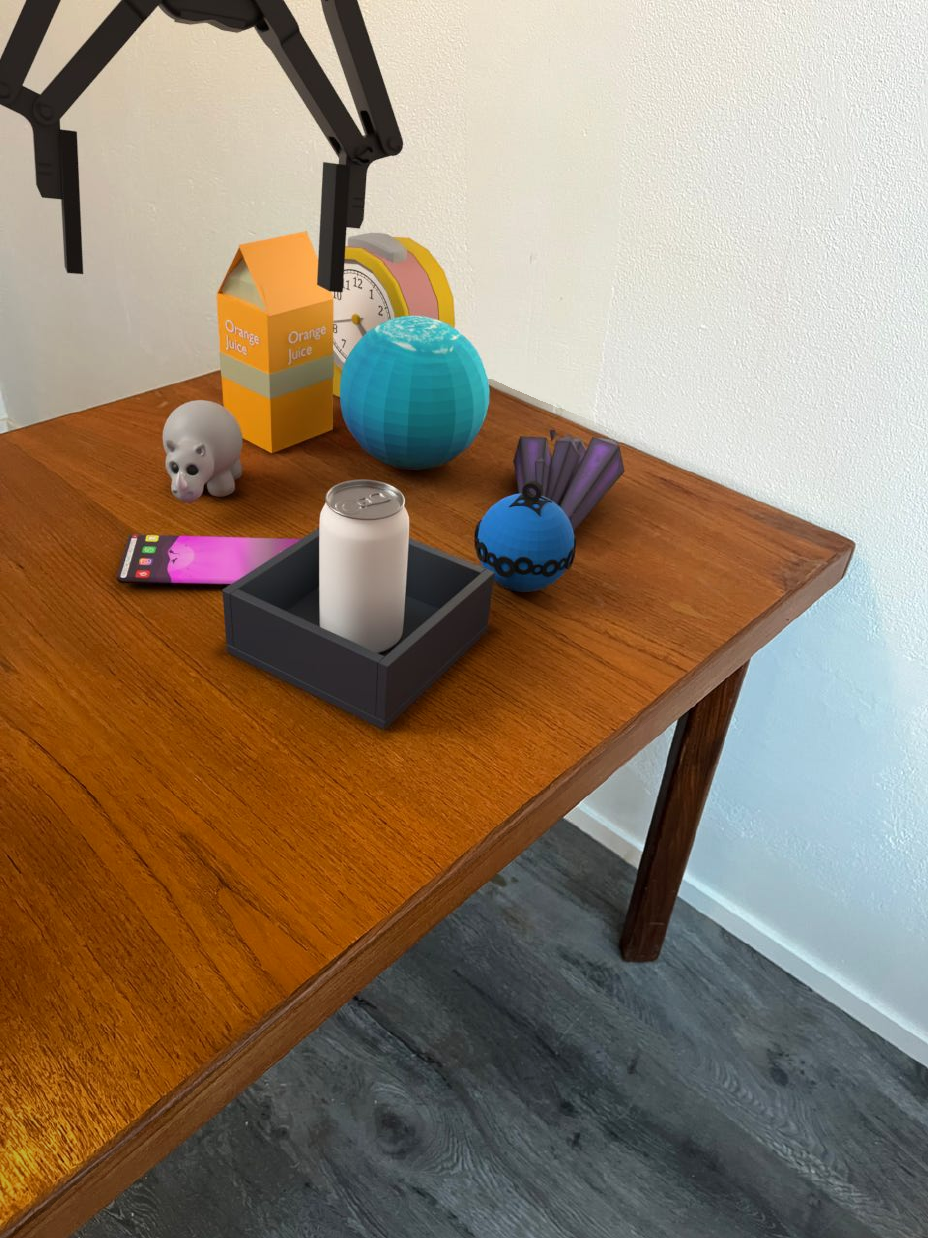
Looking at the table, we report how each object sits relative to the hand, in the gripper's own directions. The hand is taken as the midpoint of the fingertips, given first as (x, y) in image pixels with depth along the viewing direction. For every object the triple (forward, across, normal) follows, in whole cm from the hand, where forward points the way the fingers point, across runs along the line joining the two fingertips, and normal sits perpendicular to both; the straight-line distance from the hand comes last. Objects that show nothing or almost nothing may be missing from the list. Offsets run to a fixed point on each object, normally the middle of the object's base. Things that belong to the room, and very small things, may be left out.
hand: (208, 280), depth 53 cm
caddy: (+27, -13, -8) cm, 31 cm away
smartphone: (+26, -4, -22) cm, 34 cm away
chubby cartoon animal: (+24, -5, -34) cm, 41 cm away
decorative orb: (+21, -27, -36) cm, 50 cm away
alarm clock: (+18, -28, -52) cm, 62 cm away
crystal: (+22, -39, -25) cm, 51 cm away
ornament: (+25, -29, -13) cm, 40 cm away
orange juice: (+20, -16, -46) cm, 53 cm away
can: (+27, -13, -8) cm, 31 cm away
